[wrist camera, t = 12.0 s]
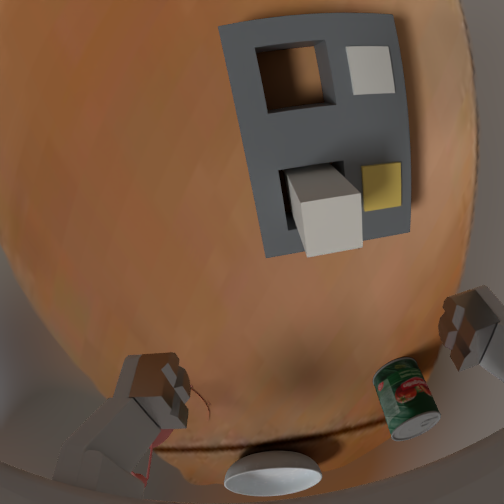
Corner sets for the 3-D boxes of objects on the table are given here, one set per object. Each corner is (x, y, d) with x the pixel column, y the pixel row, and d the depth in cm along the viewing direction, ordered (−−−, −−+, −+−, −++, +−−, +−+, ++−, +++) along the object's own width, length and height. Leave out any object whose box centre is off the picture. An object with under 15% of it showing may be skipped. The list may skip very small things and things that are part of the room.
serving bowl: (327, 460, 61) (332, 484, 55) (249, 477, 65) (249, 499, 59) (302, 430, 52) (306, 461, 46) (206, 450, 56) (205, 478, 50)
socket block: (221, 35, 22) (217, 25, 18) (374, 22, 21) (394, 14, 17) (263, 237, 32) (266, 259, 28) (393, 215, 31) (411, 233, 27)
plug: (282, 165, 28) (300, 202, 19) (324, 158, 28) (360, 193, 19) (288, 204, 30) (307, 257, 21) (328, 198, 30) (362, 247, 21)
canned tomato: (373, 392, 46) (389, 446, 37) (372, 367, 43) (392, 426, 33) (415, 378, 45) (436, 428, 36) (418, 350, 42) (445, 405, 32)
